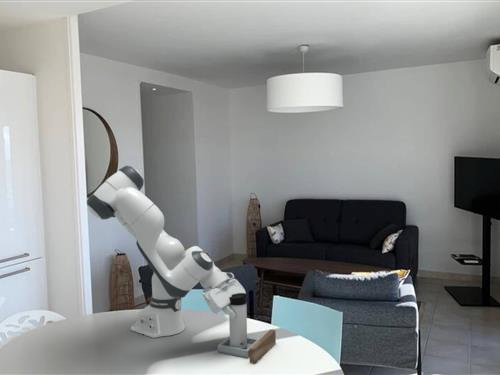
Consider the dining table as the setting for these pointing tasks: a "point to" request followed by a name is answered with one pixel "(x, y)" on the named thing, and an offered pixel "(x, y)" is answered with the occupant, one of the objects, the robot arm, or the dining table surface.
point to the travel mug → (238, 321)
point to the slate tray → (233, 351)
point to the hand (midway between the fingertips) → (240, 313)
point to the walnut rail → (262, 346)
